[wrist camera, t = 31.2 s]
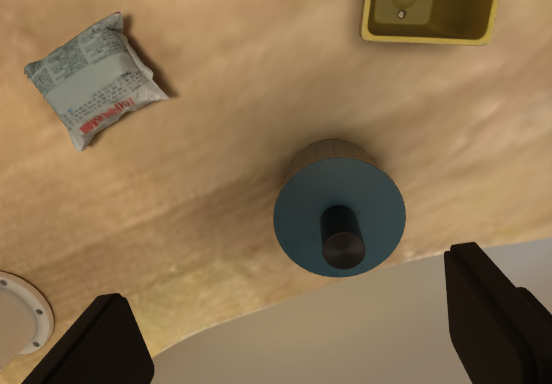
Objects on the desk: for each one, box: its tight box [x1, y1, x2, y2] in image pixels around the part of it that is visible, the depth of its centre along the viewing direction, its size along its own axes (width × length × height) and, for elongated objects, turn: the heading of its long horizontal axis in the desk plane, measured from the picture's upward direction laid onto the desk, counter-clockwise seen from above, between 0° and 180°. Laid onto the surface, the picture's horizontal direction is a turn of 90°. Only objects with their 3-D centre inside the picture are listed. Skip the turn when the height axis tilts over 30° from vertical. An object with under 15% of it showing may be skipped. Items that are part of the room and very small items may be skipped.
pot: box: [282, 139, 378, 188], centre depth 35 cm, size 10×10×8 cm
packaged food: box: [24, 12, 170, 152], centre depth 35 cm, size 9×12×5 cm
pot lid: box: [273, 157, 406, 277], centre depth 29 cm, size 11×11×6 cm
